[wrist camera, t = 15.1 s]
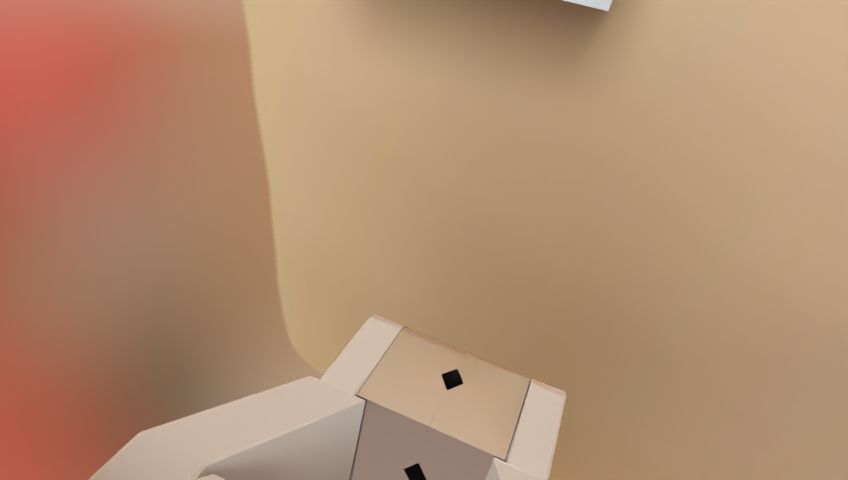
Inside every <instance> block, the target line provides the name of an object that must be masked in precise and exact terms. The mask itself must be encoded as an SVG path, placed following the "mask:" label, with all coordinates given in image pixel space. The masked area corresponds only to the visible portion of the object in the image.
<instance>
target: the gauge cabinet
mask: <svg viewBox="0 0 848 480" xmlns="http://www.w3.org/2000/svg"><path fill="white" fill-rule="evenodd" d="M563 1H568V2H572V3H576V4H580V5H584V6H589V7H593V8H597V9H601V10H605V11H609V9H610V7H611V5H612V3H613V1H614V0H563Z"/></svg>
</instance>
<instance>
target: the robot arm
mask: <svg viewBox="0 0 848 480" xmlns="http://www.w3.org/2000/svg"><path fill="white" fill-rule="evenodd" d="M565 401H566V394H565V391H563V390H561V389H558V388H555V387H553V386H550V385H547V384H545V383H542V382H540V381H537V380H534V379H531V380H530V378H527V377H525V376H522V375H520V374H517V373H515V372H512V371H510V370H507V369H505V368H502V367H500V366H497V365H495V364H492V363H490V362H487V361H485V360H482V359H480V358H477V357H475V356H472V355H470V354H467V353H465V352H463V351H461V350H458V349H456V348H454V347H451V346H449V345H447V344H444V343H442V342H440V341H437V340H435V339H433V338H431V337H428V336H426V335H424V334H421V333H419V332H417V331H414V330H412V329H410V328H408V327H403V326H402V325H399V324H397V323H395V322H392V321H390V320H388V319H385V318H383V317H381V316H378V315H376V314H375V315H374V316H372V317H370V318H368V319H367V321H366V322H365V323H364V324H363V326H362V327H361V328H360V329H359V331H358V332H357V333H356V334H355V336H354V337H353V338H352V339H351V340H350V342H349V343H348V344H347V345H346V347H345V348H344V349H343V350H342V352H341V353H340V354H339V355H338V357H337V358H336V359H335V360H334V362H333V363H332V364H331V365H330V367H329V368H328V369H327V370H326V372H325V373H324V374H323V375H322V377H321V378H320V379H319V380H318V379H316V378H314V377H311V376H308V377H305V378H302V379H299V380H296V381H293V382H290V383H287V384H284V385H281V386H278V387H275V388H272V389H269V390H266V391H263V392H259V393H256V394H254V395H250V396H247V397H244V398H241V399H239V400H235V401H233V402H230V403H226V404H223V405H220V406H217V407H214V408H211V409H208V410H205V411H202V412H199V413H196V414H194V415H190V416H187V417H184V418H181V419H178V420H175V421H172V422H169V423H166V424H163V425H160V426H157V427H154V428H151V429H148V430H145V431H142V432H140V433H138V435H136V436H135V437H134V438H133V439H132V440H131V441H130V442H129V443H128V444H126V445H125V446H124V447H123V448H122V449H121V450H120V451H119V452H118V453H117V454H116V455H114V456H113V457H112V458H111V459H110V460H109V461H108V462H107V463H106V464H105V465H104V466H102V467H101V468H100V469H99V470H98V471H97V472H96V473H95V474H94V475H93V476H92V477H90V478H89V479H88V480H549V475H550V471H551V466H552V461H553V457H554V452H555V447H556V443H557V438H558V433H559V429H560V424H561V419H562V415H563V410H564V405H565Z"/></svg>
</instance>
